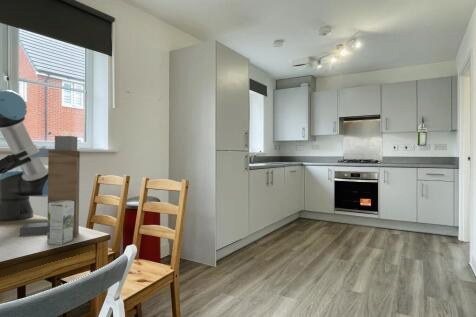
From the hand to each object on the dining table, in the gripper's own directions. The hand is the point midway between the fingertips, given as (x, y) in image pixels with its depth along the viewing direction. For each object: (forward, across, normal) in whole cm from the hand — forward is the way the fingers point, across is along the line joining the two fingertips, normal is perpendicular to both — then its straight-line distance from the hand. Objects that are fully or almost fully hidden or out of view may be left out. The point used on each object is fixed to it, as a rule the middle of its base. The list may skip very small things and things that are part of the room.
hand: (42, 148), depth 106 cm
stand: (-10, 0, -32) cm, 34 cm away
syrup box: (-10, +8, -33) cm, 35 cm away
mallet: (0, -2, -4) cm, 4 cm away
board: (-18, -10, -28) cm, 35 cm away
